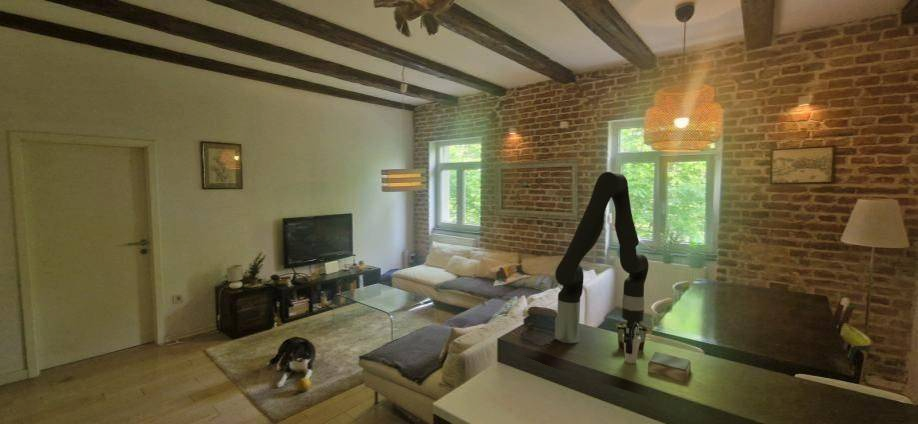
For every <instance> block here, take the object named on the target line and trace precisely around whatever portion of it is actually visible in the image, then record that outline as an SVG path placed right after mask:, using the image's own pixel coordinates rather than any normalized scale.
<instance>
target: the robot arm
mask: <svg viewBox="0 0 918 424" xmlns="http://www.w3.org/2000/svg"><path fill="white" fill-rule="evenodd" d="M629 191H630V190H629V184H628V179H627V177H626V176H625V175H624V174H623V173H620V172H616V171H604V172H602V173H601V174H600V175H599V176H598V178H597V180H596V182H595V184H594V186H593V191H592V193H591V196H590V199H589V201H588V203H587V206H586V208H585V210H584V213H583V215H582V218H581V220H579V221H580V222H579V223H578V225H577V228H576V230H575V232H574V235H573V237H572V238H571V241H570V243H569V245H568V248H567V250H566V252H565V254H564V255H563V257H562V259H561V261H560V262H559V263H558V264H557V265H558V266H557V267H556V270H555V275H554V276H555V280H556V282H557V283H558V284H559V285H560V286H562V288H561V289H560V291H558V294H557V311H556V312H557V313H556V314H557V316H556V317H555V319H554V320H555V321H554V325H555V326H554V339H555V340H557V341H559V342H560V343H564V344H577V343H578V342H579V340H580V317H581V313H580V312H581V311H580V309H581V297H582V294H583V290H584V286H583V285H584V271H583V268H582V266H581V265H580V264H581V262H582V260H583V259H584V258H585V256H586V255H587V254H589V252H590V251H591V250H592V248H593V247H594V246H595V245H596V243H597V242H598V240H599V238H600V236H601V234H602V232H603V229H604V224H605V212H606V209H607V206H608V205H609V202H610V201H611V200H612V201H613V205H614V211H615V212H614V214H615V215H614V228H615V229H614V231H615V234H616V237H617V241H618V244H619V263H620V266H621V268H622V270H623V271H624V272H625V273H627V274H628V276H627V278H626V279H624V282H623V290H622V291H623V294H622V300H621V319H623V320H625V322H627V324H626V325H625V327H624V343H626V353H627V354H632V348H633V339H634V338H635V335H638V336H639V325H640V324H641V322H642V323H643V321H644V317H645V314H644V313H645V297H644V295H645V282H646V280H647V277H648V272H649V260H648V258H647V256H645V254H644V253H637V246H639V245H640V240H639V237H638V236H639V235H638V232H637V230H636V229H637V228H636V226H635V223H634V217H633V213H632V208H631V207H632V206H631V201H630V192H629ZM628 338H630V340H628Z"/></svg>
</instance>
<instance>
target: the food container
mask: <svg viewBox="0 0 918 424" xmlns="http://www.w3.org/2000/svg"><path fill="white" fill-rule="evenodd" d="M626 324H627V321H620V322H617V324H616V326H615V330H616V332H617V344H618V350H619V351H624V339H623V338H622V337H623V334H624V327H625V325H626ZM648 332H649V329H648V327H647V326H646V325H644V324H641V323H640V325H639V336H640V337H641V341H640V343H639V349H638V352H644V351H645V350H644V348H645V342H646V335H647V333H648Z"/></svg>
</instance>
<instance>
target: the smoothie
mask: <svg viewBox="0 0 918 424" xmlns="http://www.w3.org/2000/svg"><path fill="white" fill-rule="evenodd" d="M622 338H623V339H624V334H623V337H622ZM628 340H630V338H628ZM640 341H641V337H640V336H638V335H635V338H634V339H633V348H632V354H627V353H626V343H624V350H623V351H624V359H625V362H626V363H628V364H632V363H634V364H636V363H637V359H638V355H639V354H638V353H639V351H638V349H639V343H640Z"/></svg>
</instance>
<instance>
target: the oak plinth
mask: <svg viewBox="0 0 918 424" xmlns="http://www.w3.org/2000/svg"><path fill="white" fill-rule="evenodd" d="M691 369H692V361H690V359H687V358H683V357H678V356H675V355H672V354H671V355H670V354H666V353H663V352H657V351H654V352H653V354H652V355H651V357H650V359H649V360H648V363H647V372H648V371H649V372H648V373H650V372H652V373H651V374H654V373H657V374H656V375H658V374H659V375H658V376H662V375H663V376H662V377H665V376H666V378H669V377H670V379H673V380H677V381H681V382H685V383H687V382H688V379H689V376H690V374H691V372H692V370H691Z"/></svg>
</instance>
